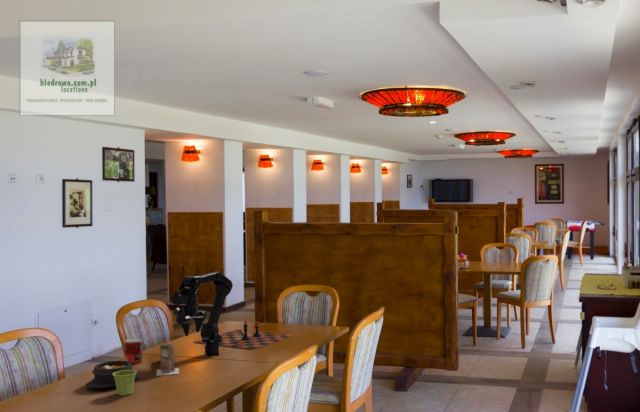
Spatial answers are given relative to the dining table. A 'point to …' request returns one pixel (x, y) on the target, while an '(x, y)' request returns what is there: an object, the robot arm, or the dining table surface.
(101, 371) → the casserole
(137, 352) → the canned food
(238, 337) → the chessboard
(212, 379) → the dining table surface
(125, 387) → the plant pot
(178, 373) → the felt mat
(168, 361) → the plain brown block
